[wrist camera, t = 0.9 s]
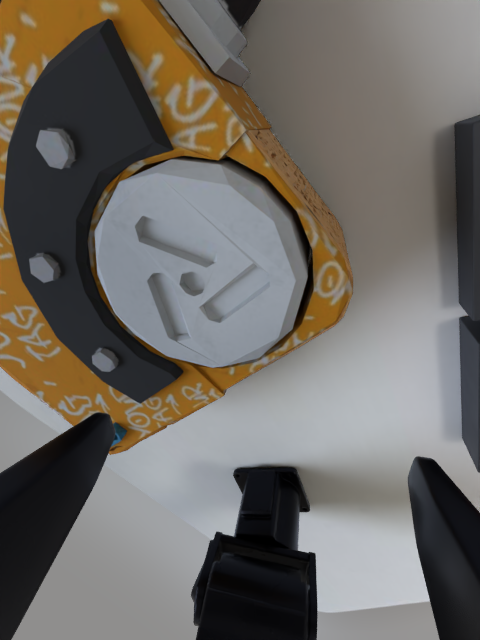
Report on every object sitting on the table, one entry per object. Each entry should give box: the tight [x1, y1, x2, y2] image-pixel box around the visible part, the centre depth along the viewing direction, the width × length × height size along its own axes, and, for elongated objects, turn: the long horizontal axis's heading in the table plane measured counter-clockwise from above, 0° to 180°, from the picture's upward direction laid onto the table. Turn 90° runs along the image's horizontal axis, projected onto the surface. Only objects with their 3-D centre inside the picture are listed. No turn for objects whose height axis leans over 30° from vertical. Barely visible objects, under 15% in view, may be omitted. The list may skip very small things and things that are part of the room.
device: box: [0, 0, 353, 455], centre depth 17 cm, size 23×8×30 cm
